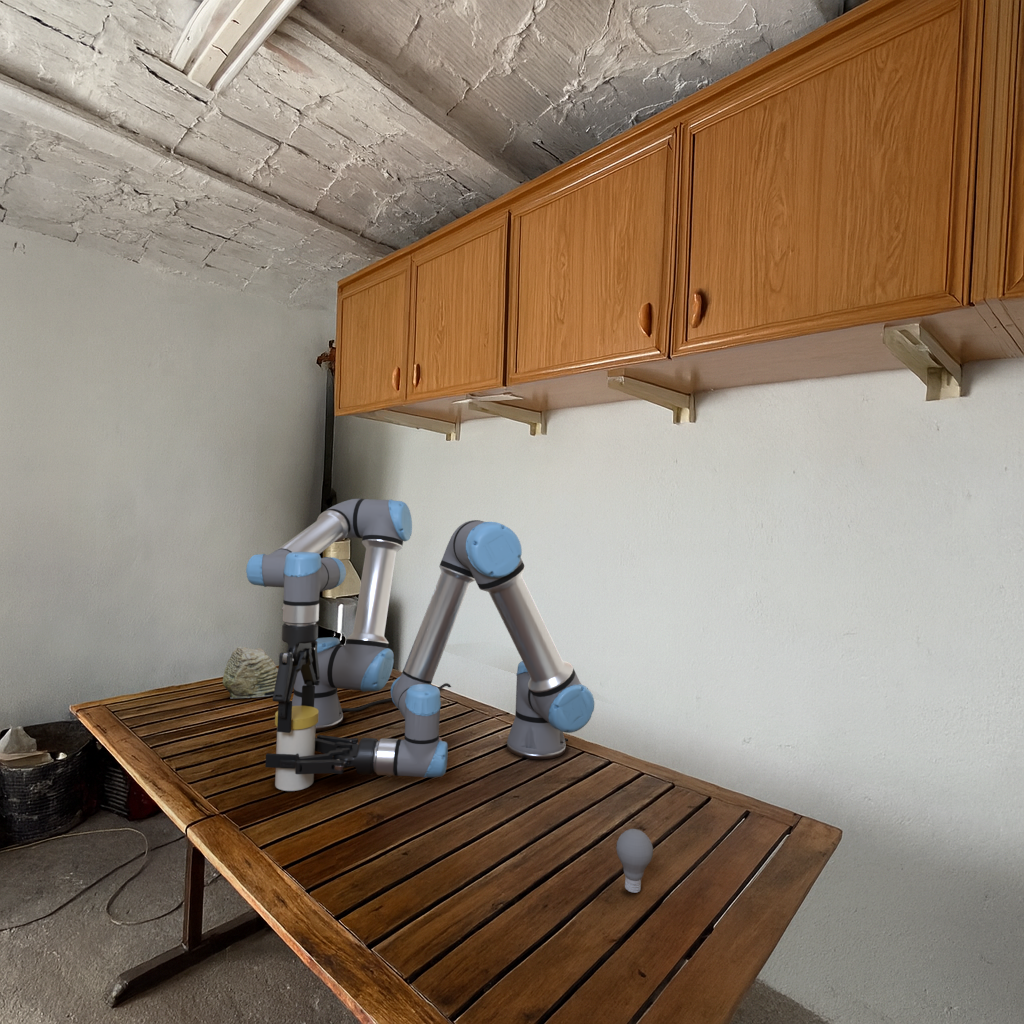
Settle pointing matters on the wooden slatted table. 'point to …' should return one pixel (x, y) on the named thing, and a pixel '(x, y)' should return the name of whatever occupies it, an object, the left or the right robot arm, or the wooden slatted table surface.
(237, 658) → the fossil
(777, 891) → the wooden slatted table surface
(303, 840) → the wooden slatted table surface
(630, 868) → the light bulb
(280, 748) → the jar
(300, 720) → the lid
